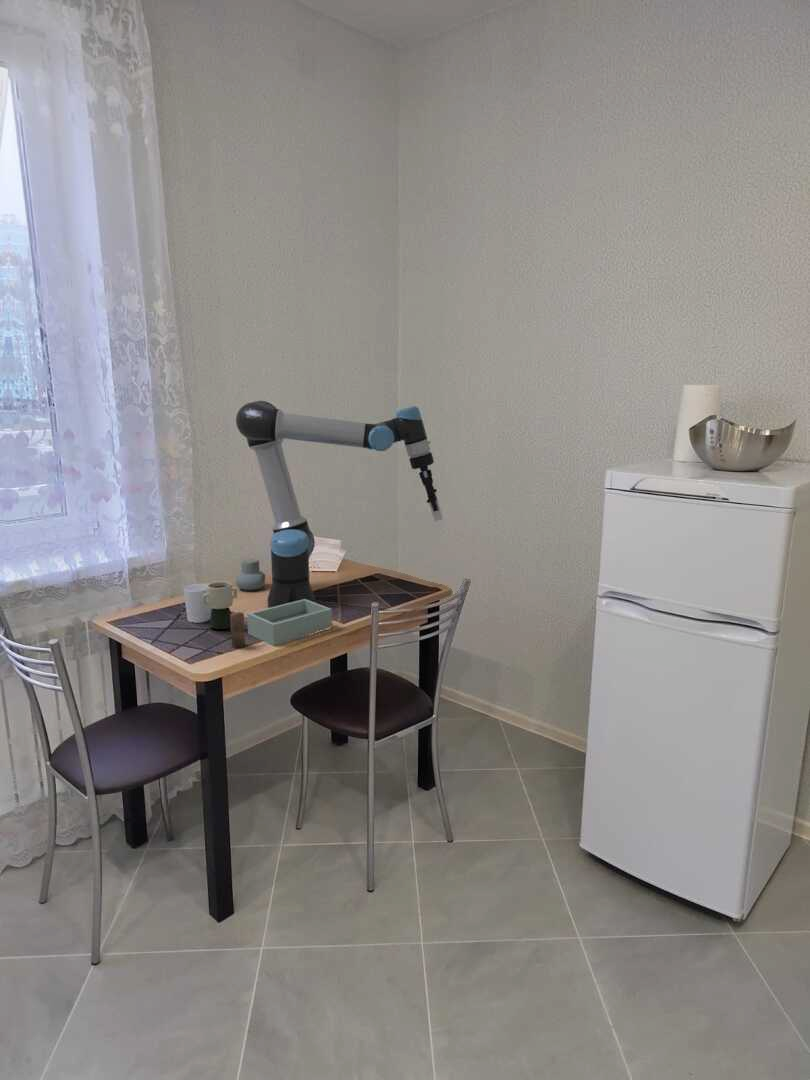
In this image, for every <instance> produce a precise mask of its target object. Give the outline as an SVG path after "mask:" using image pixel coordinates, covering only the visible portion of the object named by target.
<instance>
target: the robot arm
mask: <svg viewBox="0 0 810 1080" xmlns="http://www.w3.org/2000/svg"><path fill="white" fill-rule="evenodd" d="M395 415H396V416H395V417H394V418H392V419H389V420H388V419H387V420H386V421H381V422H378V423H367V422H366V423H365V422H358V421H349V420H342V419H333V418H326V417H318V416H309V415H300V414H293V413H286V412H285V413H284V412H283V410H282V409H280V408H277V407H276V406H275V405H274V404H272V403H270V402H268V401H265V400H255V401H253V402H251V401H250V402H247V403H245V404H244V405H242V406H241V407H240V408H239V410H238V411H237V414H236V417H235V424H236V428H237V429H238V432H239V433H240V434H241V435H242V436H243V437H244V438H245V439H246V441H247V445H248V448H250V450H253V451H254V452H255V455H256V459H257V462H258V466H259V469H260V473H261V475H262V480H263V483H264V487H265V490H266V493H267V497H268V501H269V504H270V508H271V511H272V515H273V518H274V521H275V522H274V525H273V526H272V531H273V535H271V537H270V544H269V547H270V555H271V578H272V580H271V586H270V588H269V593H268V597H267V599H266V601H267V602H266V603H267V608H271V607H275V606H279V605H283V604H287V603H291V602H295V601H299V600H303V599H307V600H309V601H312V602H315V603H316V596H315V594H314V591H313V587H312V585H311V582H310V562H309V561H310V557H311V555H312V553H313V552H314V548H315V537H314V533H313V532H312V531H311V529H310V526H309V524H308V519H307V518H306V517H304V516H303V515H302V514H301V511H300V508H299V505H298V501H297V497H296V493H295V489H294V486H293V483H292V480H291V476H290V471H289V468H288V464H287V461H286V456H285V454H284V451H283V447H282V443H283V442H284V440H292V441H293V440H295V441H302V442H310V443H311V442H313V443H319V444H320V443H321V444H327V445H328V444H329V445H337V446H347V447H355V448H360V449H361V448H363V449H368V450H371V451H372V450H375V451H378V452H385V451H388V450H389V449H390V448H391V447H393V445H394V444H396V443H398V442H402V441H403V442H404V447H405V451H406V453H407V454H406V455H407V456H408V457H409V459H408V460H409V463H410V467H411V469H413V470H418V469H419V470H420V471H419V473H418V475H419V478H420V479H421V481H422V485H423V486H424V488H425V491H426V496H427V498H428V499H426V503H427V504H428V503H429V506H430V510H431V513H432V514H431V515H432V517H433V518H432V519H433V521H434V522H438V521H441V520H443V516H442V513H441V508H440V504H439V501H438V496H437V494H436V493H437V492H438V491H437V488H435V487H434V485H433V483H434V479H433V477H432V476H433V473H432V470H431V469H429V466H430V465H433V464H434V462H435V459H434V456H433V454H432V452H431V451H430V450H431V447H430V445H431V441H430V440H428V437H427V433H426V429H425V425H424V422H423V418H422V415H421V412H420V409H419V407H417V406H416V405H413V406H409V407H405V408H403V409H399V410H397V411H396V412H395Z"/></svg>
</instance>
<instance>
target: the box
mask: <svg viewBox="0 0 810 1080" xmlns="http://www.w3.org/2000/svg"><path fill="white" fill-rule="evenodd" d="M246 616H247V619H246V620H247V634H248V635H250V636H252V637H254V638H256V639H259V640H260V641H262V642H265V643H266V644H268V645H270V646H272V647H274V646H275V645H276V646H279V645H282V644H286V643H288V642H292V641H295V639H296V640H299V639H302V638H304V637H303V636H306V635H309V634H312V633H315V632H317V631H320V630H324V629H326V628H329V627H332V628H333V610H332V608H330V607H327V606H325V605H322V604H319V603H317V602H316V601H315V602H312V601H309V600H307V599H303V600H299V601H295V602H291V603H287V604H283V605H279V606H275V607H271V608H268V607H267V608H263V609H259V610H256V611H252V612H247V613H246ZM309 636H310V635H309ZM301 637H302V638H301ZM306 637H307V636H306ZM298 638H299V639H298Z"/></svg>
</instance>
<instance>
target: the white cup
mask: <svg viewBox="0 0 810 1080" xmlns="http://www.w3.org/2000/svg"><path fill="white" fill-rule="evenodd" d="M208 584H209V583H193V584H188V585H187V586H184V587H183V595H184V596H183V597H184V603H185V604H184V605H185V611H186V616H187V617H186V618H187V621H188V622H189V623H192V622H193V623H194V624H195V623H197V624H200V623H205V622H208V621H210V620H211V611H212V608H210V607H209V606H208V604H207V605H203V603H202V595H203V594H206V593H207V585H208ZM205 598H206V601H207V597H205Z"/></svg>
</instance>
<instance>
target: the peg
mask: <svg viewBox="0 0 810 1080" xmlns="http://www.w3.org/2000/svg"><path fill="white" fill-rule="evenodd" d="M230 620H231V627H230V634H231V635H230V636H231V647H232V648H233V649H243V648H245V647H246V637H245V635H246V634H245V615H244V613H243V612H238V611H237V612H236V611H235V612H232V613H231V614H230Z"/></svg>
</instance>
